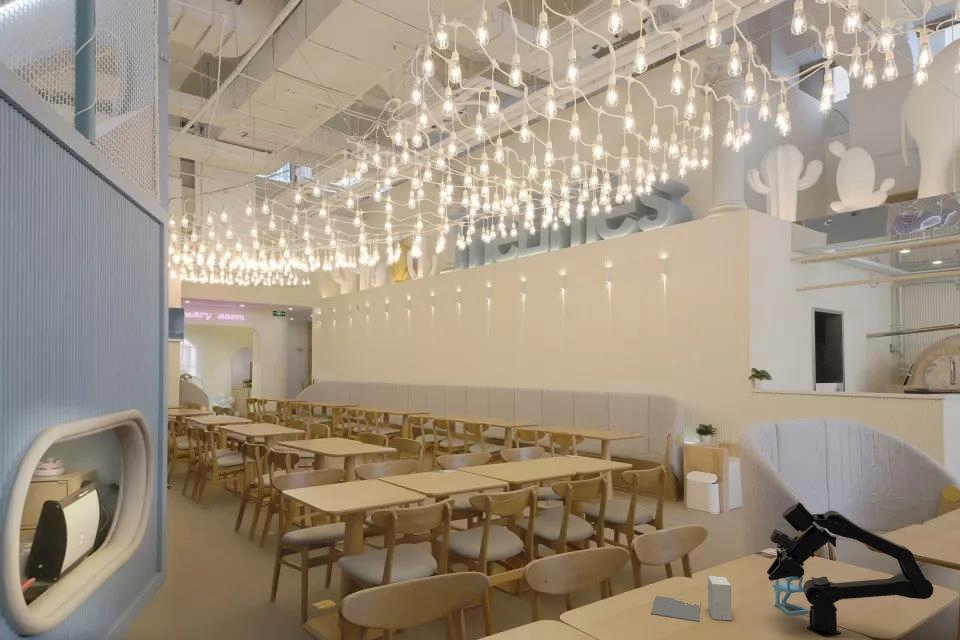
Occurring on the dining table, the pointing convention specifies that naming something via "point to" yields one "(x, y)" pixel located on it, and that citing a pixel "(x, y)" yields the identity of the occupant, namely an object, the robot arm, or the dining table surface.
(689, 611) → the mat
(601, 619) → the dining table surface
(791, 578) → the chair
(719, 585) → the small box
